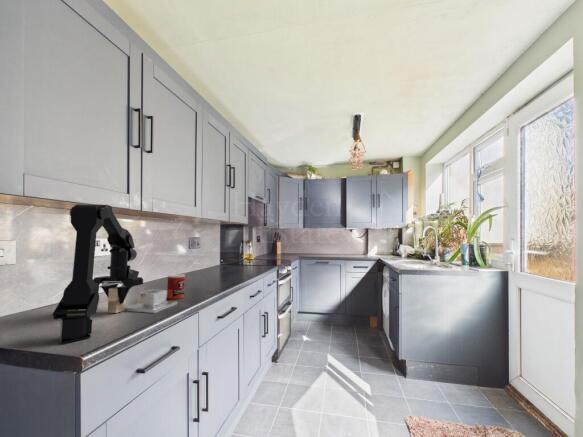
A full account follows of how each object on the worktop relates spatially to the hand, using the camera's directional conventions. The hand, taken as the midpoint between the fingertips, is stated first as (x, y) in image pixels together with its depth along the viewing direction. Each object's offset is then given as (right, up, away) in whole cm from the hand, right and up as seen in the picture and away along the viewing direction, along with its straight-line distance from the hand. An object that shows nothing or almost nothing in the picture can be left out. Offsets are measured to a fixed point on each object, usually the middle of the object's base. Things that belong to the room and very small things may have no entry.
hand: (117, 303), depth 102 cm
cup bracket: (+10, -4, +7) cm, 13 cm away
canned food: (+13, -5, +23) cm, 27 cm away
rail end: (0, -3, 0) cm, 3 cm away
